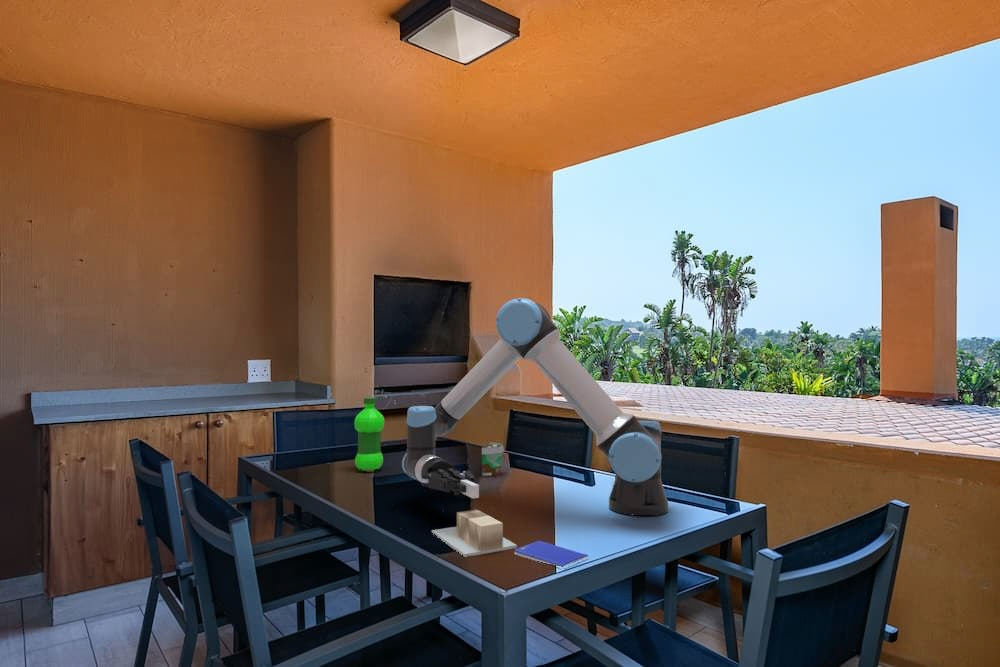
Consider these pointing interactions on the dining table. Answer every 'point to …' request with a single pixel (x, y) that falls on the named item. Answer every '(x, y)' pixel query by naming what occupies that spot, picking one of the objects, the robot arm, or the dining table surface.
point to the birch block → (480, 530)
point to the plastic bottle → (369, 436)
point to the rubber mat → (466, 543)
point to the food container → (492, 459)
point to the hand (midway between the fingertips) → (475, 491)
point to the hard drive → (549, 554)
